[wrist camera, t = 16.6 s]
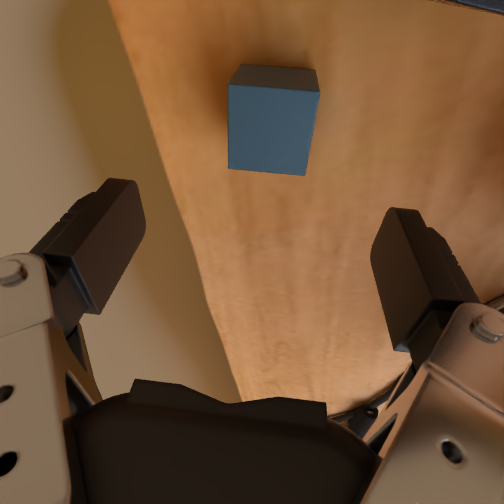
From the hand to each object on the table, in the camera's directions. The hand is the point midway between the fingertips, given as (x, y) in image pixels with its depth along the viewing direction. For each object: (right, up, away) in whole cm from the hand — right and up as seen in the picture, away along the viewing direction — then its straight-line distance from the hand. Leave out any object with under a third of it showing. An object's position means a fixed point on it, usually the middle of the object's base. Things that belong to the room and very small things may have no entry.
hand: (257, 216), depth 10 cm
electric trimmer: (+17, -28, +40) cm, 52 cm away
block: (+1, +8, +9) cm, 12 cm away
